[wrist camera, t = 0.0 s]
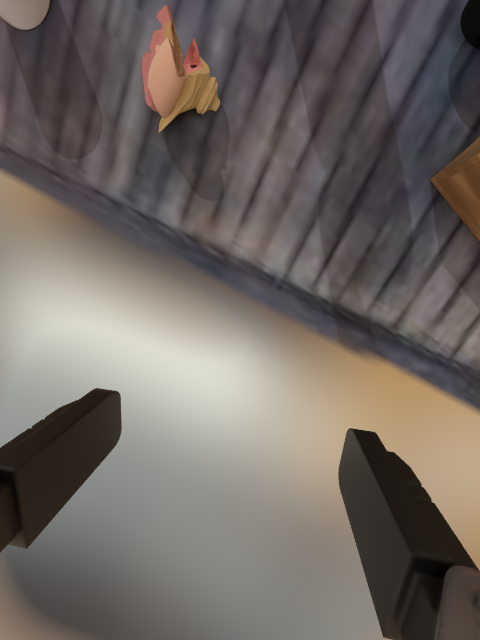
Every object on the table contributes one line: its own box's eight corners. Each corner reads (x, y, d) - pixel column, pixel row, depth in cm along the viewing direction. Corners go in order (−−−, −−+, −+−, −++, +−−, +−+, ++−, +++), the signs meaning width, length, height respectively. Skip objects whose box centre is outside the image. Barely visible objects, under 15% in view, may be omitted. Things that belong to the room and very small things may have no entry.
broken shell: (234, 67, 31) (233, 94, 26) (195, 138, 38) (188, 172, 33) (165, -7, 26) (147, 9, 21) (134, 90, 33) (115, 120, 28)
